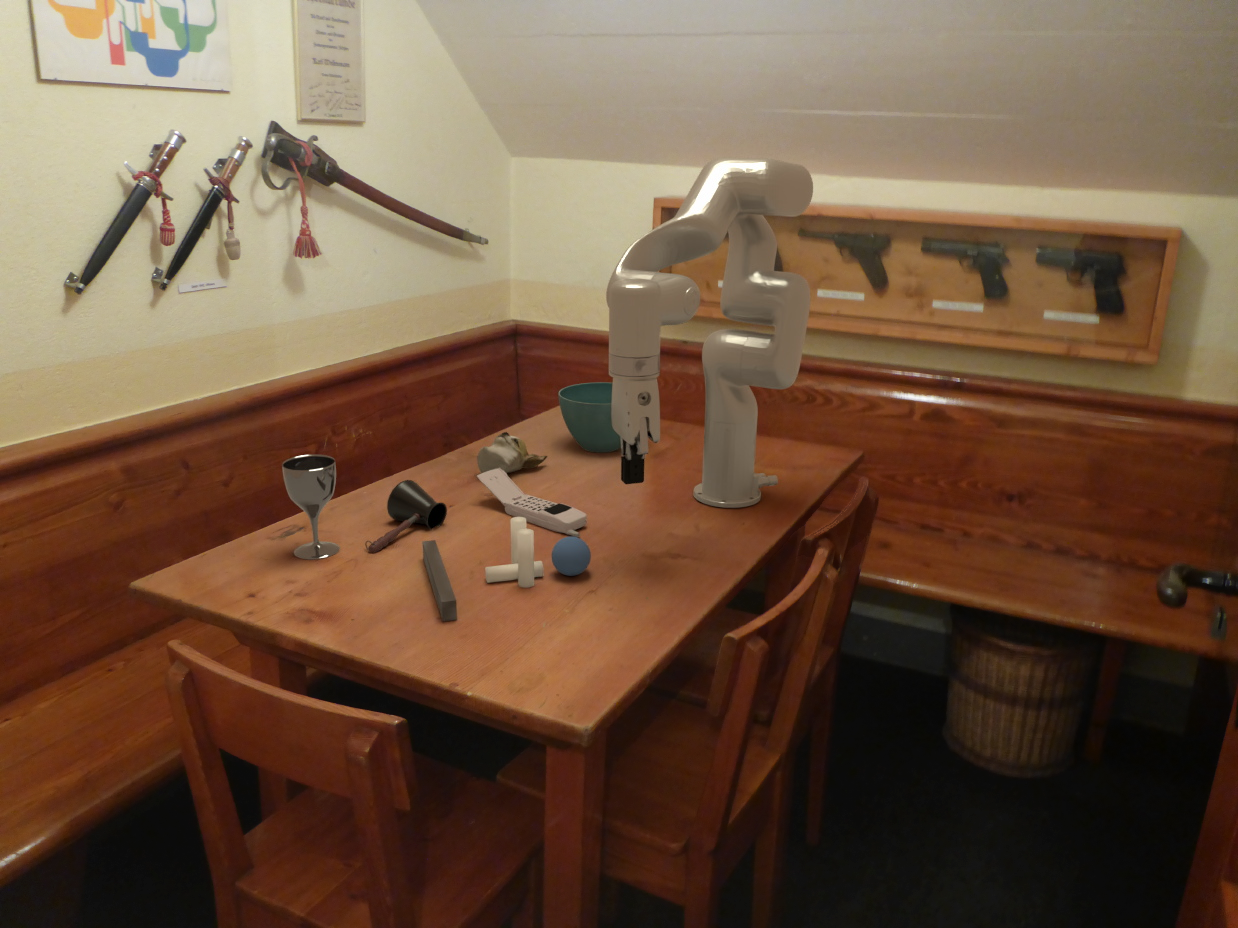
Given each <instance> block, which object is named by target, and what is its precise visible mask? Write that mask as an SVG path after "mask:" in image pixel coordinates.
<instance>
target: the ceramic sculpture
mask: <svg viewBox="0 0 1238 928" xmlns="http://www.w3.org/2000/svg"><path fill="white" fill-rule="evenodd" d="M476 457H477V458H476V459H477V467H478V470H479V472H480V474H481V473H484V472H487V471H490V470H493V469H497V468H500V469H501V470H503V471H504V472H505V473H506V474H510V473H514V472H517V471H519V470H521V469H533V468H535V467H538V466H540V465H541V464H542V463H543V462H544V461H546V459H547V458H548V455H537V454H535V453H529V452H528V449H527V446H526V443H525V441H524V440H523V439H521V438H520V437H518V436H513V435H510V434H509V432H507V431H505V432H502V433H501V434H499V435H497V436H496V437H495V438H494V440H493V441H492V444H491V445H490V446H486V445H484V446H483V447H481V448H480V449H479V451H478V454H477V456H476Z"/></svg>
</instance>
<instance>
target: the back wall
mask: <svg viewBox="0 0 1238 928" xmlns="http://www.w3.org/2000/svg"><path fill="white" fill-rule="evenodd" d="M422 558H423V562H424V567H425V569H426V572H427V575H428V578H429V582H430V586H431V588H432V592H433V595H434V598H435V601H436V604H437V608H438V611H439V614H440V618H441V621H442V622H443V623H444V622H451V621H452V622H453V621H457V620H458V613H457V612H458V608H457V599H456V596H455V593H454V592H455V591H454V590H453V587H452V585H451V581H450V579H449V576H448V573H447V570H446V567H445V563H444V562H443V559H442V555H441V553H440V550H439V548H438V545H437V541H436V539H434V540H433V539H432V540H424V541H422Z"/></svg>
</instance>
